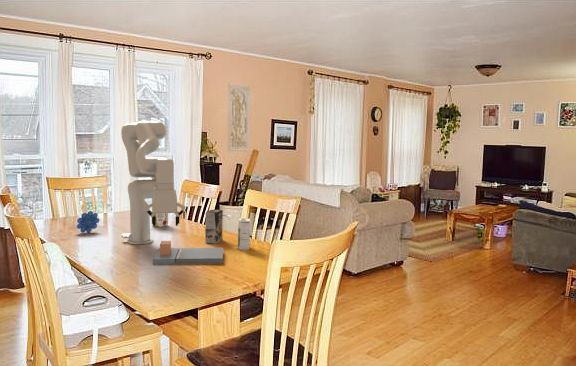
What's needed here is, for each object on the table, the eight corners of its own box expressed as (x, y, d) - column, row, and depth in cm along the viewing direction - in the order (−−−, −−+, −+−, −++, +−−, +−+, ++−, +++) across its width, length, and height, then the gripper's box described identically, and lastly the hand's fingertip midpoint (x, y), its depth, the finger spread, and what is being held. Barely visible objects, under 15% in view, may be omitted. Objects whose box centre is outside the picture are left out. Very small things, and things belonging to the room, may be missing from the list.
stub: (153, 264, 197) (152, 247, 196) (159, 253, 215) (159, 237, 214) (174, 264, 198) (174, 247, 197) (179, 252, 216) (179, 237, 215)
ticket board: (175, 264, 198) (175, 258, 198) (179, 253, 216) (179, 247, 216) (222, 263, 201) (222, 257, 200) (223, 252, 218) (223, 247, 218)
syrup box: (238, 247, 230) (238, 218, 228) (250, 247, 231) (250, 218, 229) (237, 249, 224) (238, 220, 223) (250, 249, 225) (250, 220, 223)
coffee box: (216, 243, 235) (217, 212, 234) (204, 243, 237) (204, 211, 235) (222, 239, 244) (223, 209, 242) (211, 238, 246) (211, 208, 244)
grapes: (98, 230, 260) (98, 209, 259) (100, 232, 254) (100, 210, 253) (75, 232, 254) (75, 210, 253) (77, 234, 249) (76, 212, 247)
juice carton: (170, 225, 277) (169, 193, 275) (158, 227, 270) (158, 195, 268) (161, 223, 281) (160, 192, 279) (150, 225, 274) (149, 194, 272)
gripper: (143, 187, 198) (143, 227, 199) (184, 187, 200) (184, 226, 202) (146, 186, 205) (147, 224, 207) (186, 185, 207) (186, 223, 209)
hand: (165, 225), depth 204 cm, fingers open, 9 cm apart
